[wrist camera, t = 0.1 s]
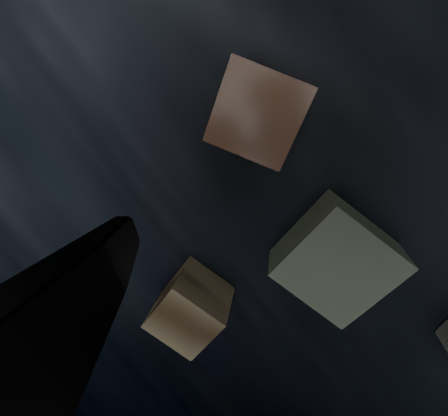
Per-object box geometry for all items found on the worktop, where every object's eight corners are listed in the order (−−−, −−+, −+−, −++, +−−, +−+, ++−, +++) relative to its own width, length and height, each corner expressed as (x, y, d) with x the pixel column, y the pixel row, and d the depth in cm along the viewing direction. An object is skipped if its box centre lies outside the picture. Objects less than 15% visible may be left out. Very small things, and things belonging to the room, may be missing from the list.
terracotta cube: (279, 155, 23) (279, 172, 18) (218, 130, 23) (202, 140, 18) (310, 88, 21) (318, 87, 16) (242, 61, 21) (231, 53, 16)
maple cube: (204, 319, 30) (190, 361, 25) (162, 289, 29) (140, 327, 25) (235, 287, 28) (225, 326, 23) (190, 255, 27) (172, 288, 23)
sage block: (333, 296, 26) (341, 329, 23) (269, 249, 26) (267, 275, 22) (397, 241, 24) (418, 269, 20) (328, 187, 23) (336, 206, 19)
